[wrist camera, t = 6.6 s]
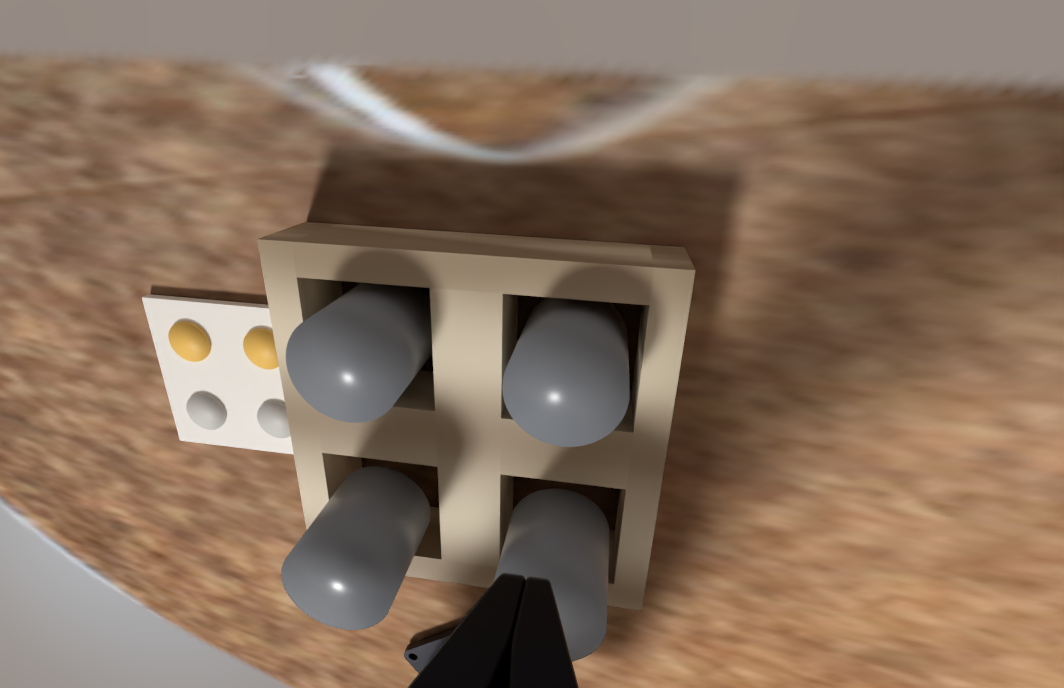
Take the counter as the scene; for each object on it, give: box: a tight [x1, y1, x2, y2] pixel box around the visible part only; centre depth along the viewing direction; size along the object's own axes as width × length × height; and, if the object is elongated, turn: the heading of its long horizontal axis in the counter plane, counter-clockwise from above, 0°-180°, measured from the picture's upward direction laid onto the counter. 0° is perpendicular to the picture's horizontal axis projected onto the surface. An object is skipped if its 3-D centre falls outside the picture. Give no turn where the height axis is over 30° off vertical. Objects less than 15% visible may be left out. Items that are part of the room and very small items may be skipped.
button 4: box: [281, 466, 431, 630], centre depth 20 cm, size 4×4×4 cm
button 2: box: [286, 283, 433, 423], centre depth 19 cm, size 4×4×4 cm
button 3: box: [494, 488, 609, 661], centre depth 19 cm, size 4×4×4 cm
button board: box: [257, 222, 696, 611], centre depth 21 cm, size 14×14×3 cm
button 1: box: [502, 297, 630, 447], centre depth 18 cm, size 4×4×4 cm
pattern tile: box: [142, 294, 294, 454], centre depth 24 cm, size 7×7×1 cm
